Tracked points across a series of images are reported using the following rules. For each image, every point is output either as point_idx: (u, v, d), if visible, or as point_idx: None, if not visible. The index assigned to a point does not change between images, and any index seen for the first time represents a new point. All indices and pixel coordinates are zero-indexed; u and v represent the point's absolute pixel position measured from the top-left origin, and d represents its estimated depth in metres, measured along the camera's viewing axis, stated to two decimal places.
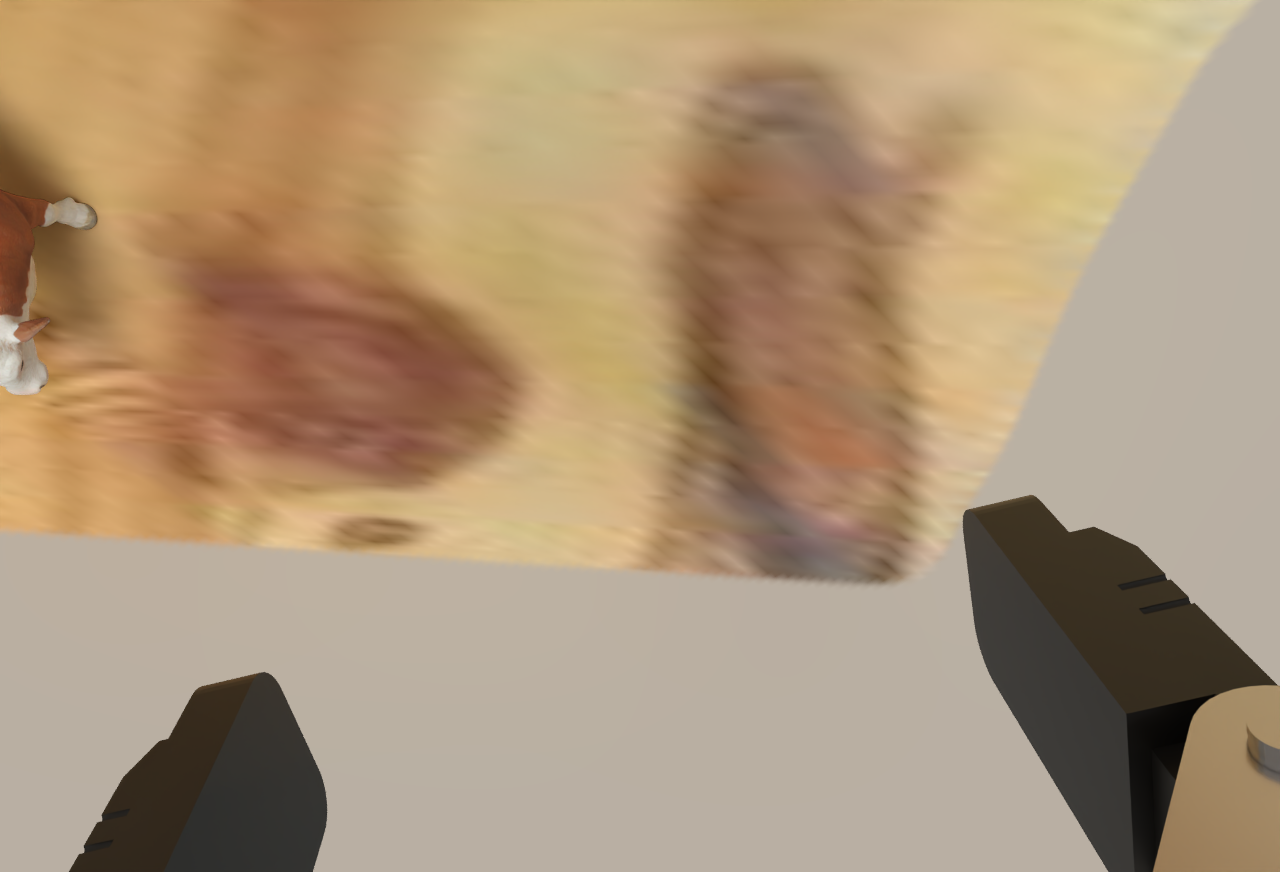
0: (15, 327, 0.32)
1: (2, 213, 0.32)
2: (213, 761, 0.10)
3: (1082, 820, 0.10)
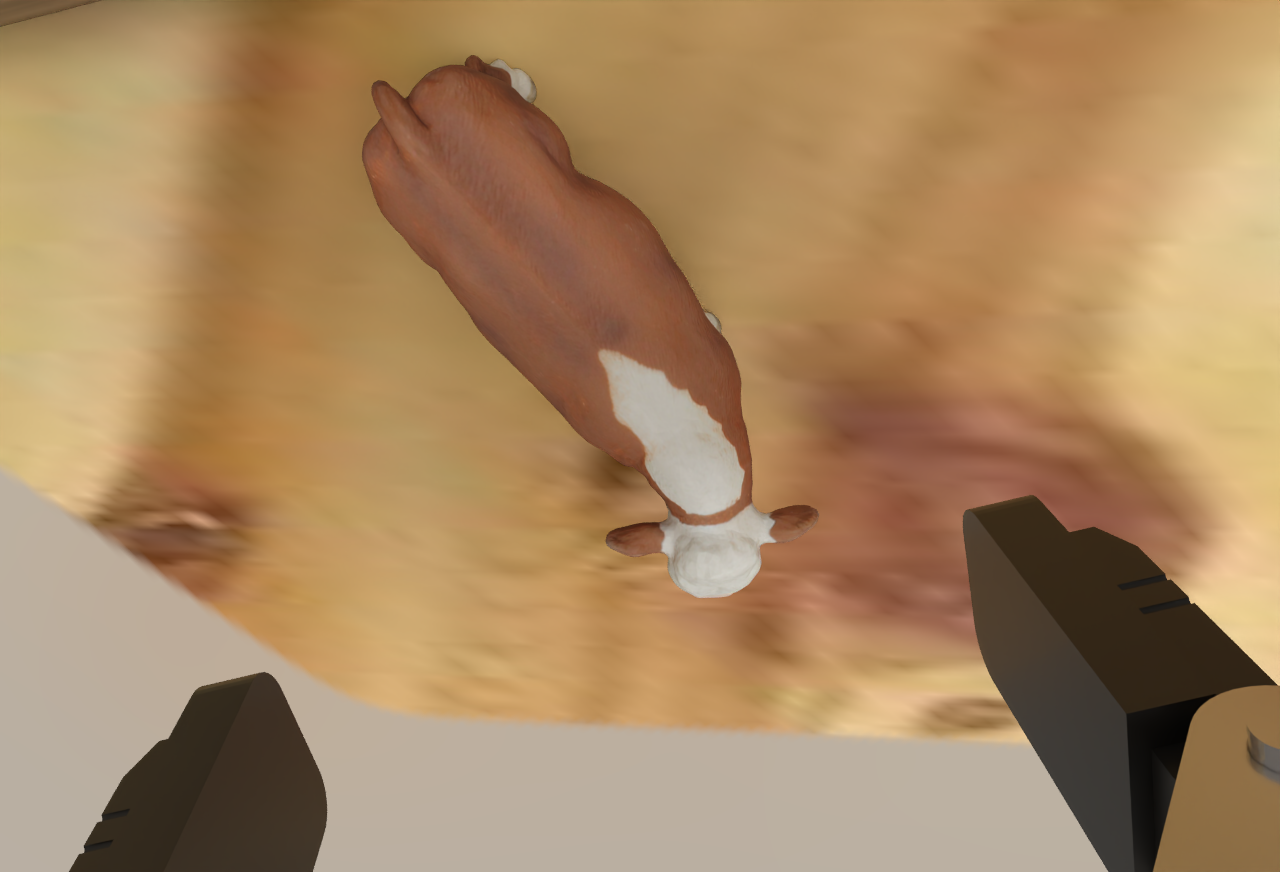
0: (768, 522, 0.22)
1: (731, 353, 0.22)
2: (213, 761, 0.10)
3: (1082, 820, 0.10)
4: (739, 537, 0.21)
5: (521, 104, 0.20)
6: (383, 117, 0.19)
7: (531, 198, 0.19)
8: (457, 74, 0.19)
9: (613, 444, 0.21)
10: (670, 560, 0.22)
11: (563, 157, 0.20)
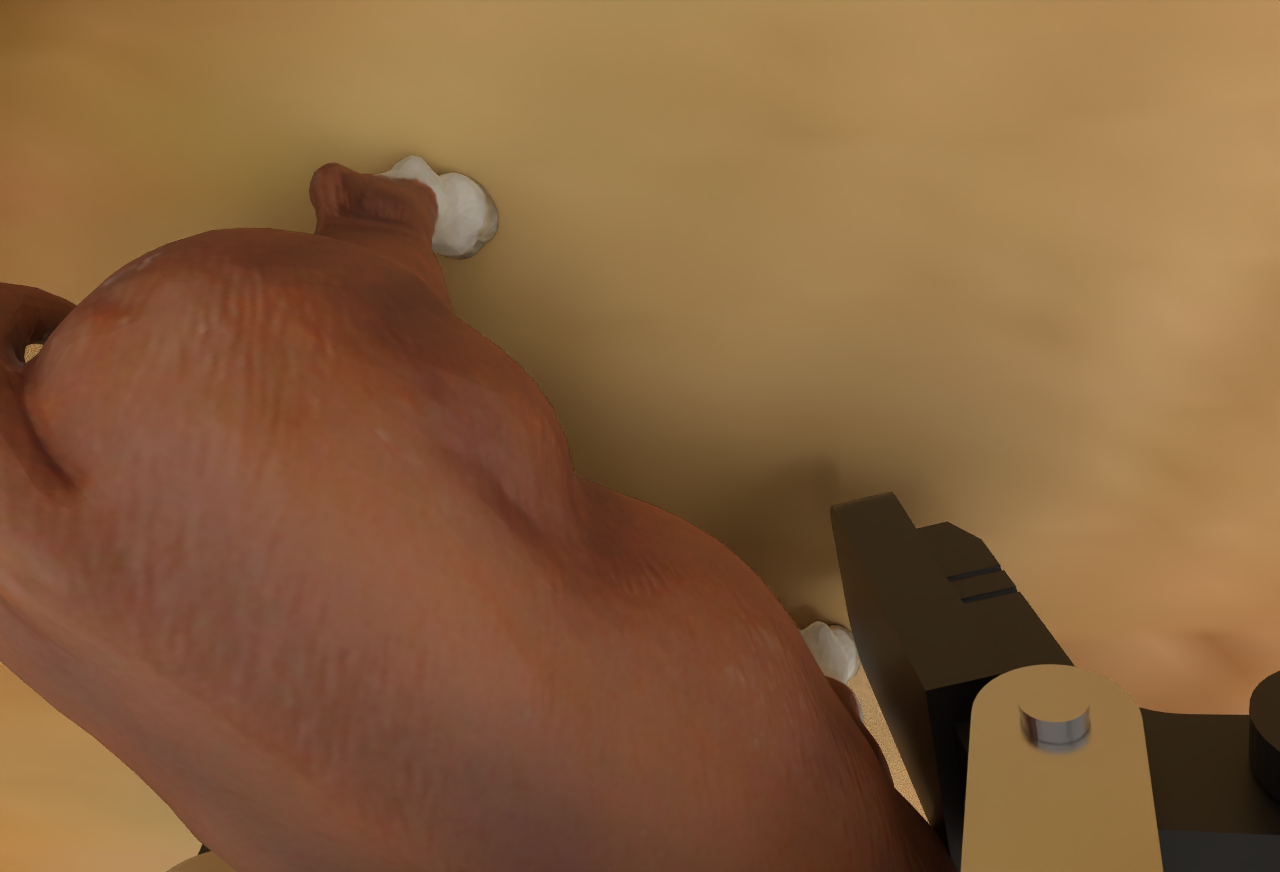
0: None
1: None
2: None
3: (918, 793, 0.10)
4: None
5: (426, 347, 0.07)
6: None
7: (444, 675, 0.06)
8: (202, 281, 0.06)
9: None
10: None
11: (550, 492, 0.07)
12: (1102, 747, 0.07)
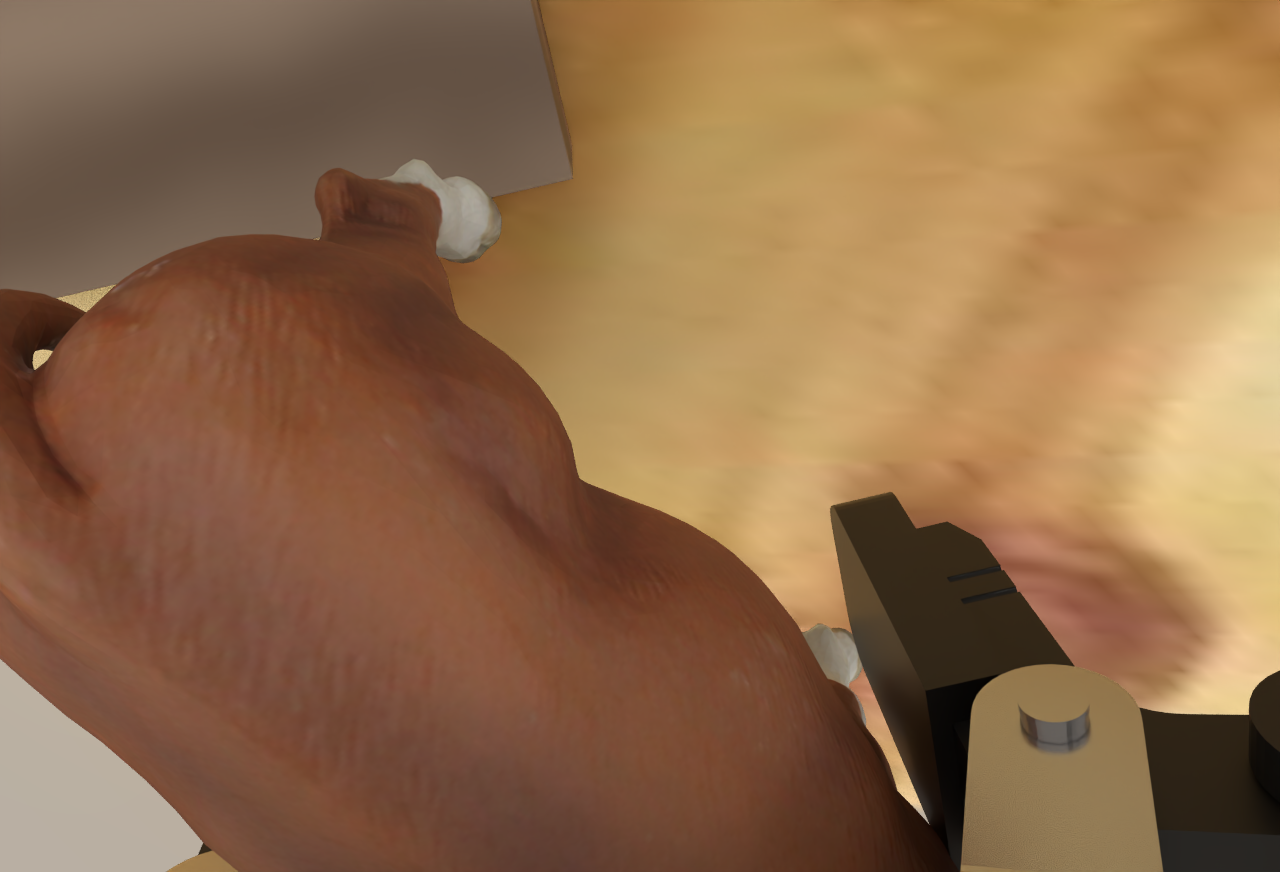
0: None
1: None
2: None
3: (918, 793, 0.10)
4: None
5: (431, 353, 0.07)
6: None
7: (452, 679, 0.06)
8: (210, 288, 0.06)
9: None
10: None
11: (555, 498, 0.07)
12: (1102, 747, 0.07)
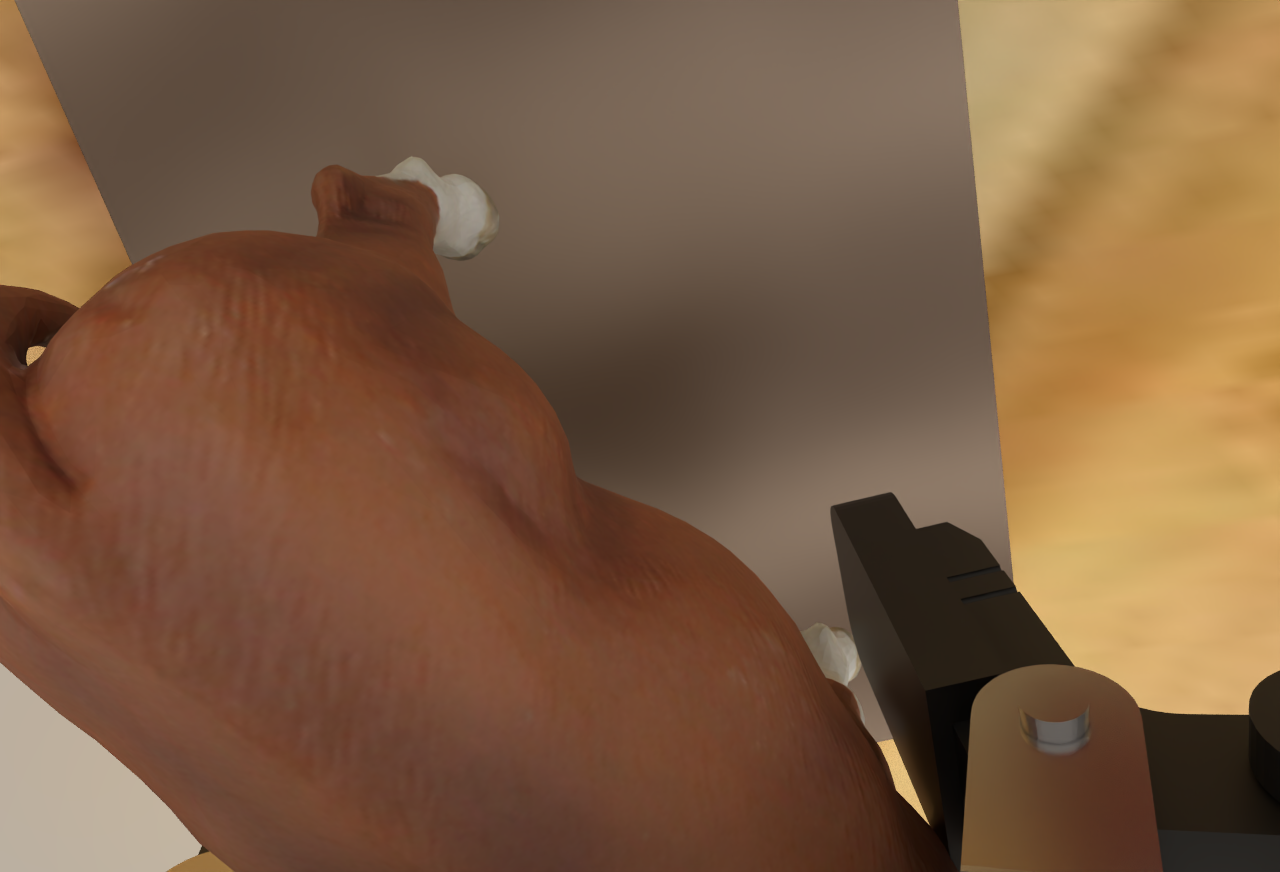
0: None
1: None
2: None
3: (919, 793, 0.10)
4: None
5: (427, 350, 0.07)
6: None
7: (446, 679, 0.06)
8: (204, 284, 0.06)
9: None
10: None
11: (551, 497, 0.07)
12: (1102, 747, 0.07)
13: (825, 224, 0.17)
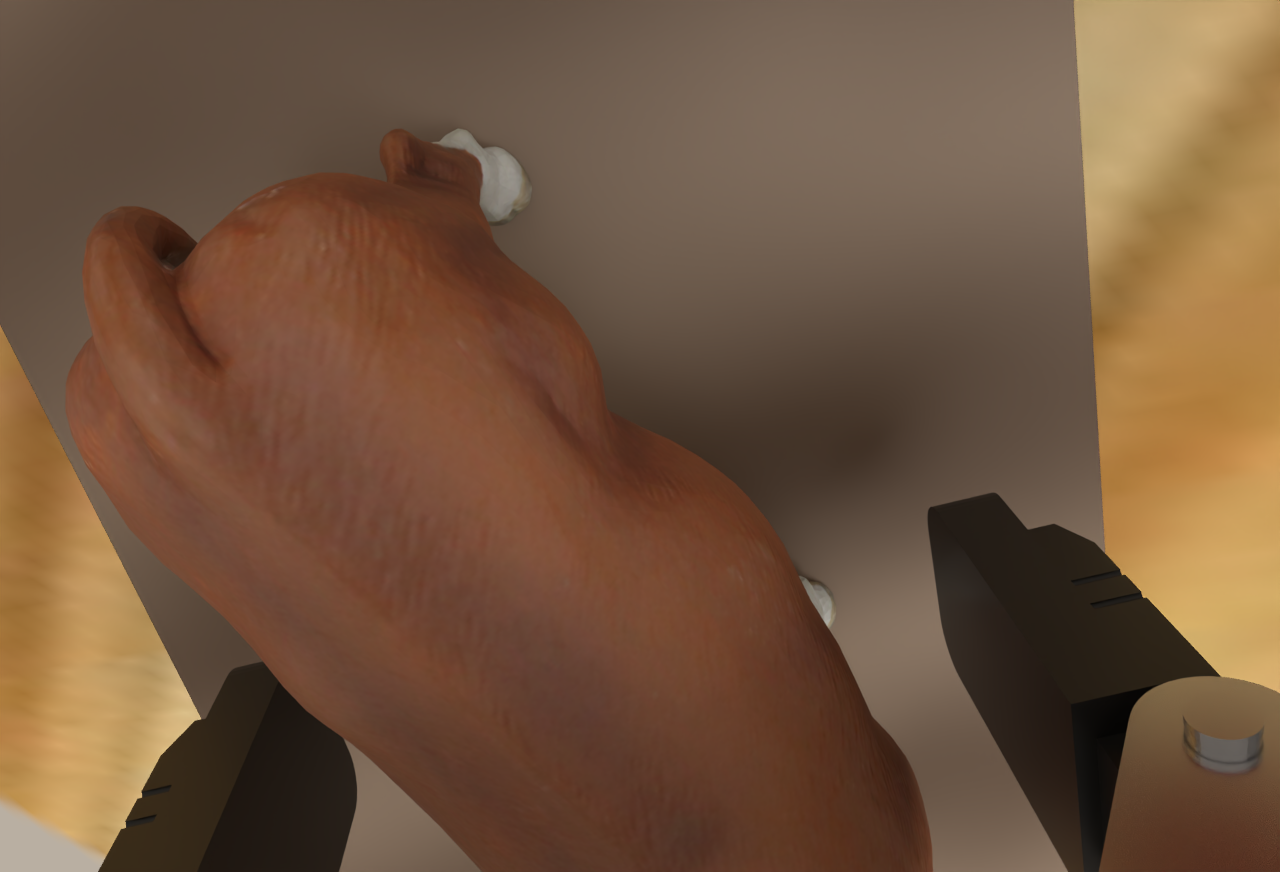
0: None
1: (920, 795, 0.10)
2: (252, 738, 0.10)
3: (1038, 810, 0.10)
4: None
5: (492, 279, 0.08)
6: (92, 331, 0.07)
7: (502, 545, 0.07)
8: (321, 210, 0.07)
9: None
10: None
11: (588, 410, 0.08)
12: None
13: (896, 296, 0.14)
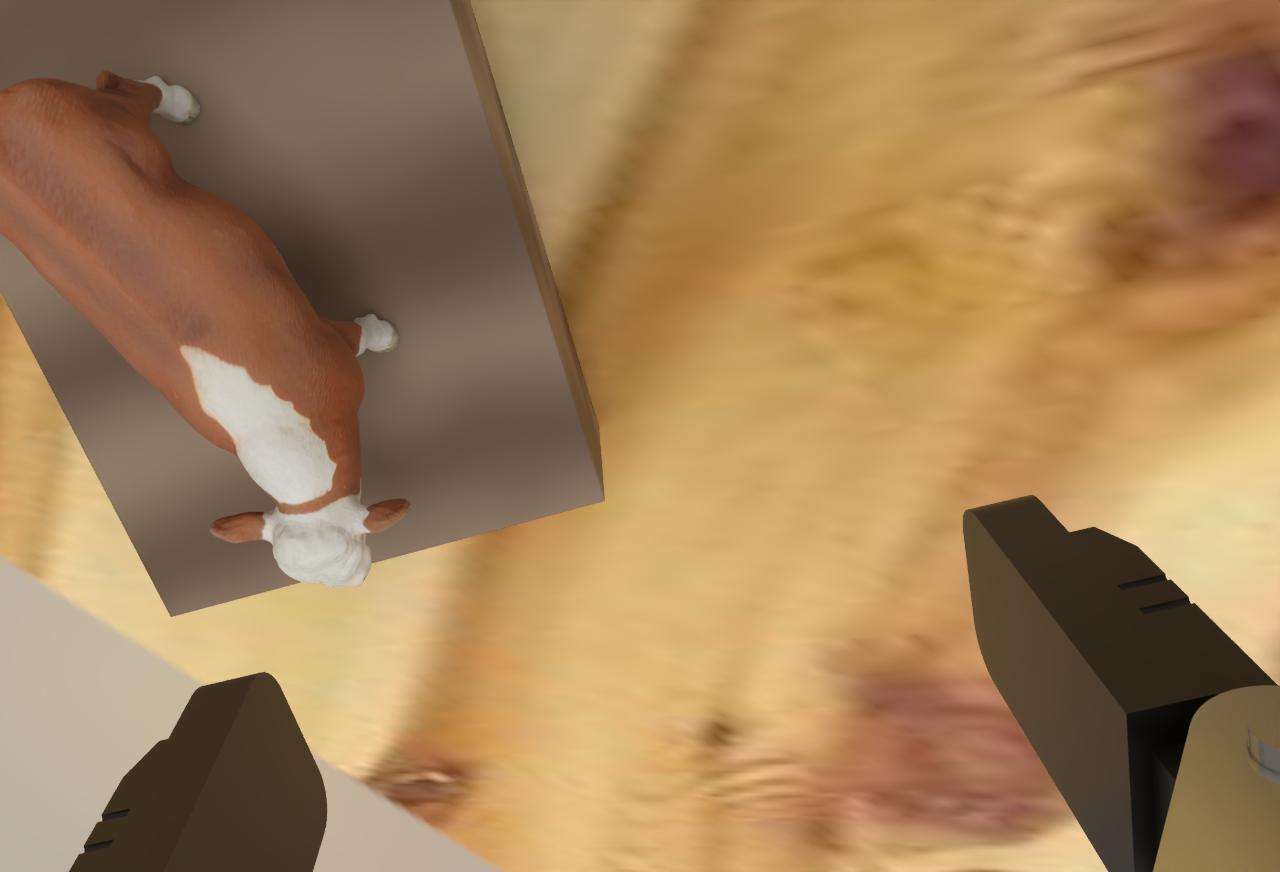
0: (364, 514, 0.23)
1: (342, 354, 0.24)
2: (213, 761, 0.10)
3: (1082, 820, 0.10)
4: (328, 526, 0.23)
5: (110, 115, 0.21)
6: None
7: (103, 202, 0.21)
8: (35, 86, 0.21)
9: (209, 435, 0.23)
10: None
11: (152, 166, 0.22)
12: None
13: (396, 158, 0.27)
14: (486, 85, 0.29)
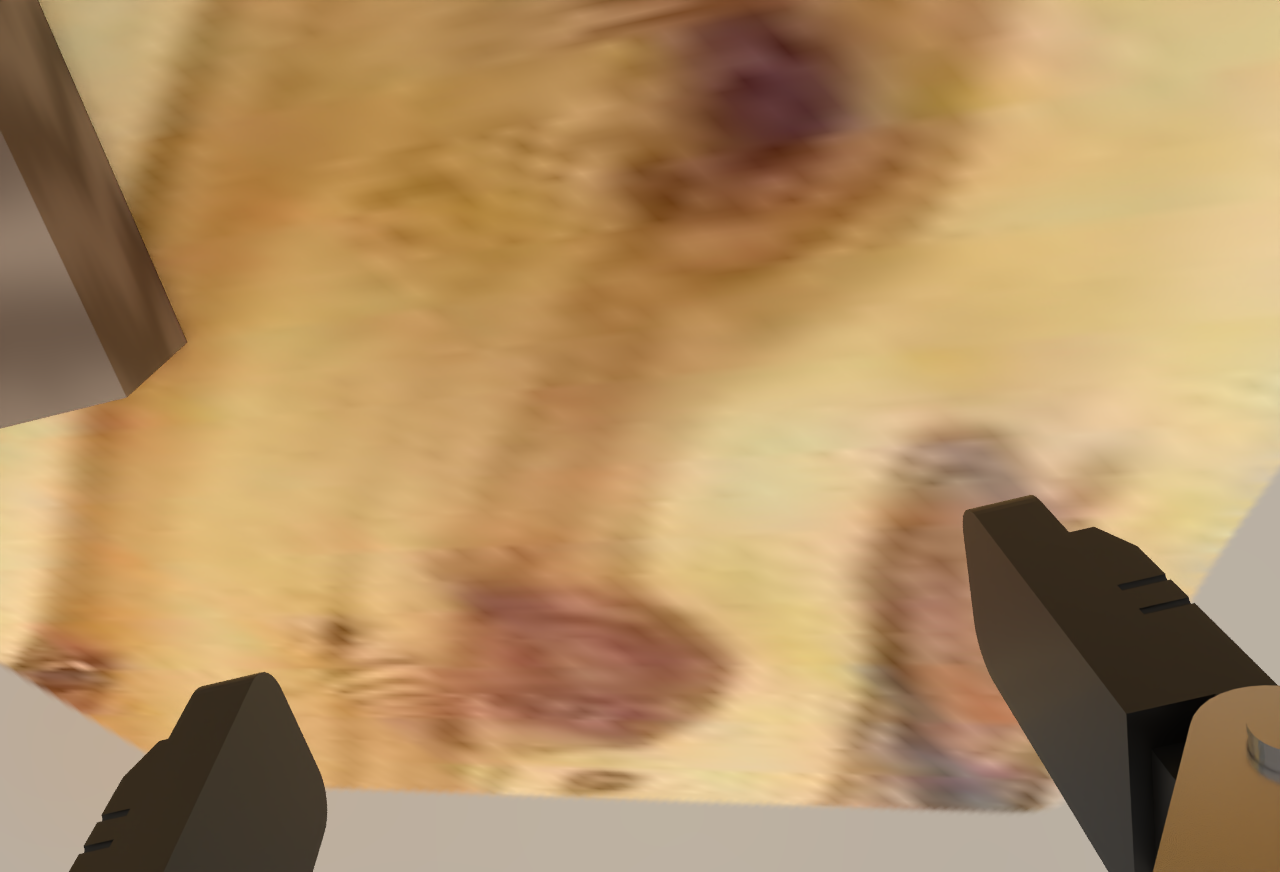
0: None
1: None
2: (213, 761, 0.10)
3: (1082, 820, 0.10)
4: None
5: None
6: None
7: None
8: None
9: None
10: None
11: None
12: None
13: None
14: None
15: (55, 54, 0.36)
